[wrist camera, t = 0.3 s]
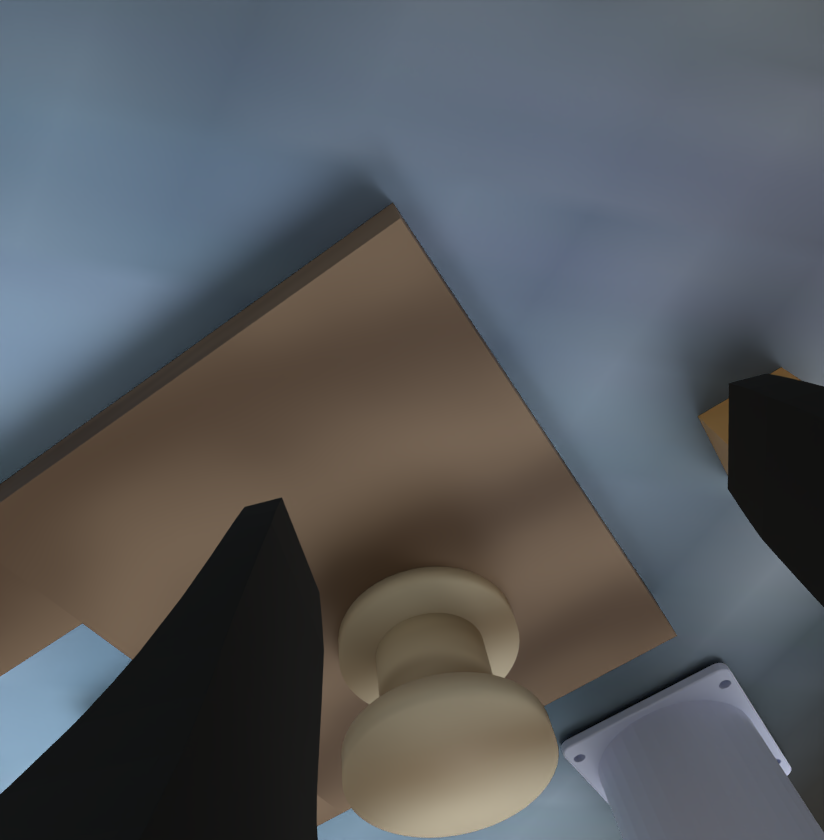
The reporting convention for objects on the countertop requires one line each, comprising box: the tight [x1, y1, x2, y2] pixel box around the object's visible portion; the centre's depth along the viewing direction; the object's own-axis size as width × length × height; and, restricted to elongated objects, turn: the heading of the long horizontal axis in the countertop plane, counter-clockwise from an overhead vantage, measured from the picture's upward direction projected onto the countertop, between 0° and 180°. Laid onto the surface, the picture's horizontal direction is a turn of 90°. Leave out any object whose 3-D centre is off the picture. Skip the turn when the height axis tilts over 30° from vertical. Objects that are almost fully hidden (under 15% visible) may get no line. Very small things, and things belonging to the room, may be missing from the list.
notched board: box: [0, 203, 677, 826], centre depth 23 cm, size 18×20×2 cm
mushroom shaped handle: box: [338, 567, 559, 838], centre depth 20 cm, size 6×6×5 cm
